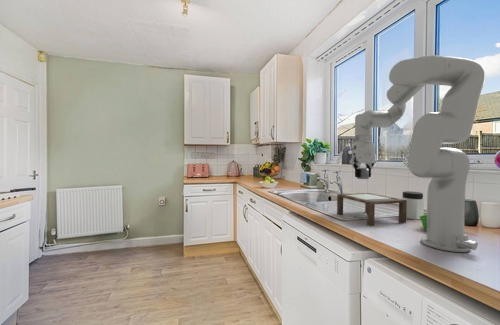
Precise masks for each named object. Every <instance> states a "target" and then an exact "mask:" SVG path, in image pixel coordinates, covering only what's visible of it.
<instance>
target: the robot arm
mask: <svg viewBox="0 0 500 325" xmlns="http://www.w3.org/2000/svg"><path fill="white" fill-rule="evenodd" d="M388 80H389V82H390V83H391V84H393V85H391V87H390V88H389V89H388V90H387V92H386V97H387V98H386V99H387V100H388V101H389V102H390V103H391V104H393V105H392V106H391V107H390V108H388V110H375V109H373V110H371V109H370V110H366V111H364V112H362V113H359V114H356V115H355V117H354V137H353V138H352V140H354V142H353V146H352V151H351V152H352V153H351V154H352V155H351V159H349V162H348V163H349V164H350V165H351V166H352V167H353V169H354V177H355V178H357V177H361V169H360V168H361V164H365V168H369V178H371V177H372V169H373V167H374V166H375V164H376V163H377V159H376V150H375V149H376V148H375V144H374V142H373V128H389V127H392V126H393V125H394V124H396V123H397V122H398V121H399V120H400V119H401V118H402V117H403V116H404V113H405V110H406V108H407V103H408V101H410V100H411V99H412V98H413V97H414V96H415V95H416V94H417V93H418V92H419V91H421V90H422V89H423V88H424V87H425V86H426V85H434V86H446V87H447V86H448V87H450V88H449V89H448V90H447V91H446V93H445V95H444V96H443V99H442V101H441V105H440V106H441V108H440V111H439V112H438V111H436V112H435V111H434V112H433V111H432V112H428V113H426V114H423V115H422V116H420V117H419V119H417V121H416V123H415V124H414V126H413V129H412V135H411V139H410V144H409V145H410V146H409V149H408V150H409V151H408V157H407V166H408V169H409V171H410V173H411V174H412V175H414V177H415V176H416V177H418V178H424V179H425V178H427V179H428V178H430V179H431V180H430V182H429V184H428V187H427V193H426V194H427V195H426V206H427V207H426V215H427V230H426V235H423V236H422V237H421V238H420V242H421V243H422V244H423V245H425V246H427V247H430V248H433V249H436V250H437V249H438V250H442V251H446V252H454V253H455V252H456V253H467V252H470V251H471V250H472V251H476V250H477V248H478V242H477V241H472V240H470V239H469V235H468V234H466V233H465V210H466V208H465V206H466V205H465V204H466V202H465V201H466V186H467V185H466V184H467V180H468V176H469V171H470V169H471V168H470V166H471V163H470V158H469V156H468V154H467V153H466V152H464V151H462V150H460V149H458V148H455V147H454V148H453V147H441V146H442V144H443V145H447V144H448V145H450V144H452V145H456V144H462V143H464V142H466V141H467V140H468V139H469V138H470V136H471V133H472V130H473V126H474V121H475V117H476V113H477V108H478V103H479V99H480V96H481V94H482V91H483V86H484V84H485V82H486V81H485V80H486V70H485V68H484V67H483V65H482V64H481V63H479V62H477V61H476V60H473V59H469V58H465V57H464V58H463V57H458V56H457V57H456V56H448V55H447V56H445V55H438V54H437V55H436V54H434V55H433V54H431V55H428V54H427V55H424V56H417V57H412V58H407V59H403V60H400V61H398V62H397V63H395V64H394V65H393V67H392V68H391V69H390V71H389V75H388Z"/></svg>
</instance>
